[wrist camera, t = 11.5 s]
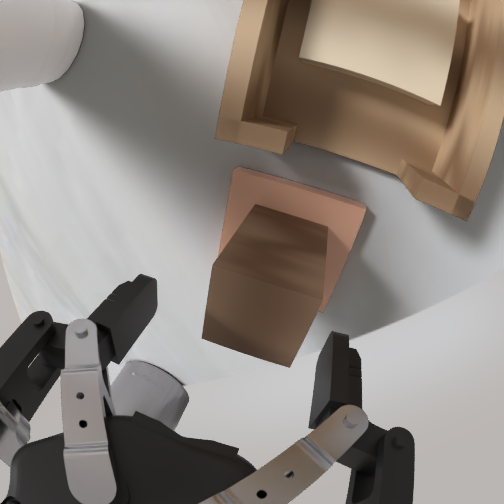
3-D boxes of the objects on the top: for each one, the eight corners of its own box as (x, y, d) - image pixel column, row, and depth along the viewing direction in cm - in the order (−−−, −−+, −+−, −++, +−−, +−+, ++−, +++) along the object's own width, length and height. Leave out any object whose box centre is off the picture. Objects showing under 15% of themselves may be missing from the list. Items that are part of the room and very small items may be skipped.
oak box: (435, 188, 15) (466, 221, 11) (245, 127, 16) (214, 138, 12) (480, -24, 7) (514, -47, 2) (296, -85, 8) (282, -126, 4)
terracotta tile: (323, 303, 21) (323, 312, 20) (219, 271, 22) (214, 278, 21) (364, 203, 17) (366, 209, 16) (238, 166, 18) (233, 170, 17)
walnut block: (328, 226, 17) (323, 300, 11) (305, 285, 19) (289, 367, 14) (255, 203, 18) (212, 265, 12) (241, 265, 20) (201, 338, 14)
